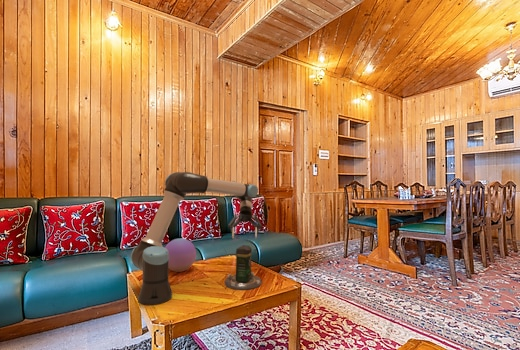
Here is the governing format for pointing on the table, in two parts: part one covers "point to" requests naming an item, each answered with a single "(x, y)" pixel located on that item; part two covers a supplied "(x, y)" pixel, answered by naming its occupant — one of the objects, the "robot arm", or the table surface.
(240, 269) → the coffee jar
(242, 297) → the table surface
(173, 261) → the ball
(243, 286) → the lug base plate
